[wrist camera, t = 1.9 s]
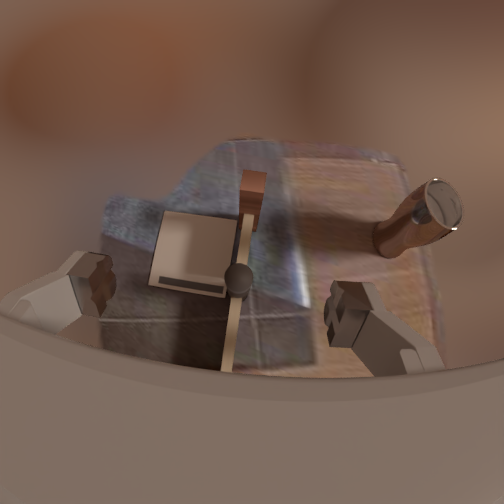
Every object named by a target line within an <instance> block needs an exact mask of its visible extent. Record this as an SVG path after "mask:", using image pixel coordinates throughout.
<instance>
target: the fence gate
mask: <svg viewBox="0 0 504 504" xmlns="http://www.w3.org/2000/svg"><path fill="white" fill-rule="evenodd" d="M266 174H267V173H264V172H258V171H251V170H244V169H243V175H242V180H241V186H240V202H239V229H241V237H240V243H239V250H238V256H237V262H236V263H242V264H245V265H247V261H248V254H249V247H250V241H251V234H252V231H254V232H256V229H257V224H258V220H259V215H260V210H261V205H262V200H263V195H264V189H265V182H266Z"/></svg>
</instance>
